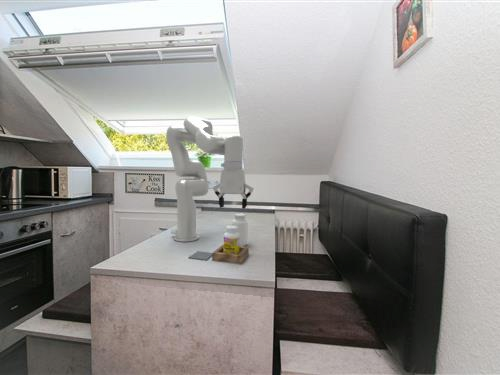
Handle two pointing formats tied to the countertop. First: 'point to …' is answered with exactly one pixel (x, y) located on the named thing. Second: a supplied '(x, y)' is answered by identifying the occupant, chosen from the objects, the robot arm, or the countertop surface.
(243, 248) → the block
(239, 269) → the countertop surface
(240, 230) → the pill bottle
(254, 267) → the countertop surface
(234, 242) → the supplement bottle
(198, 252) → the mat
